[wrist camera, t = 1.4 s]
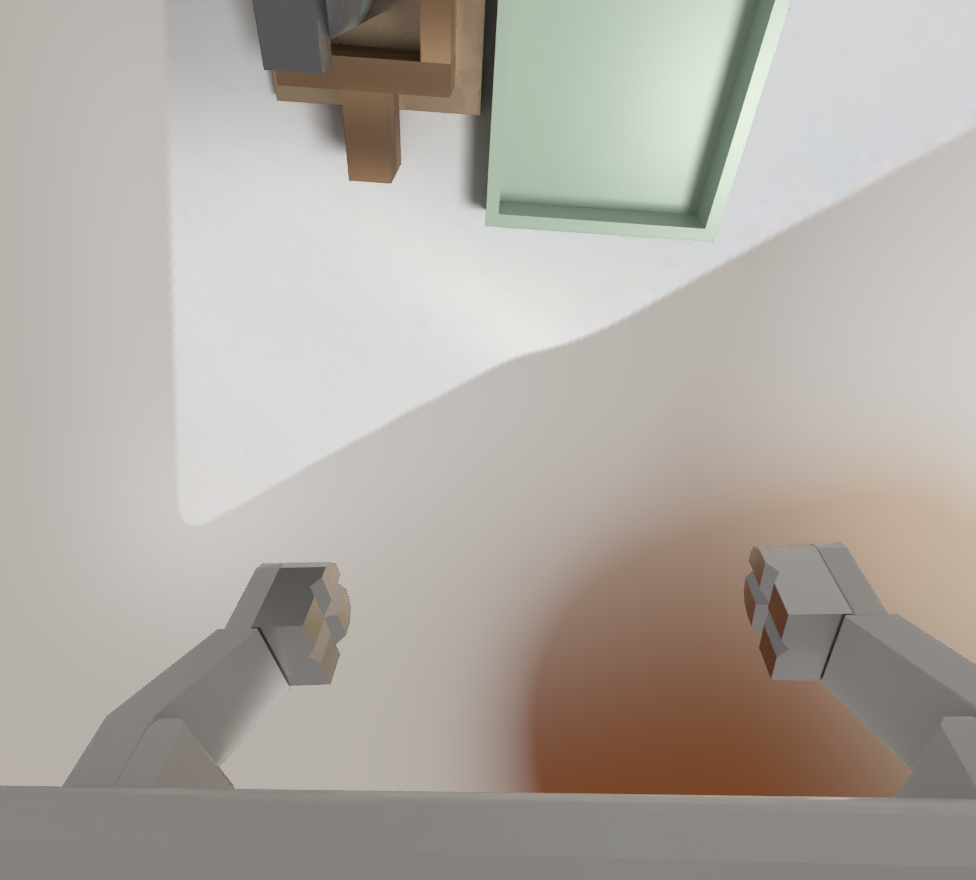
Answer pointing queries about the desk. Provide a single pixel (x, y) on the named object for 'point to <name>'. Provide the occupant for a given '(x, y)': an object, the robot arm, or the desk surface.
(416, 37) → the post stand
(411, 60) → the walnut collar
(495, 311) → the desk surface
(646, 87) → the sage tray
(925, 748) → the robot arm
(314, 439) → the desk surface
